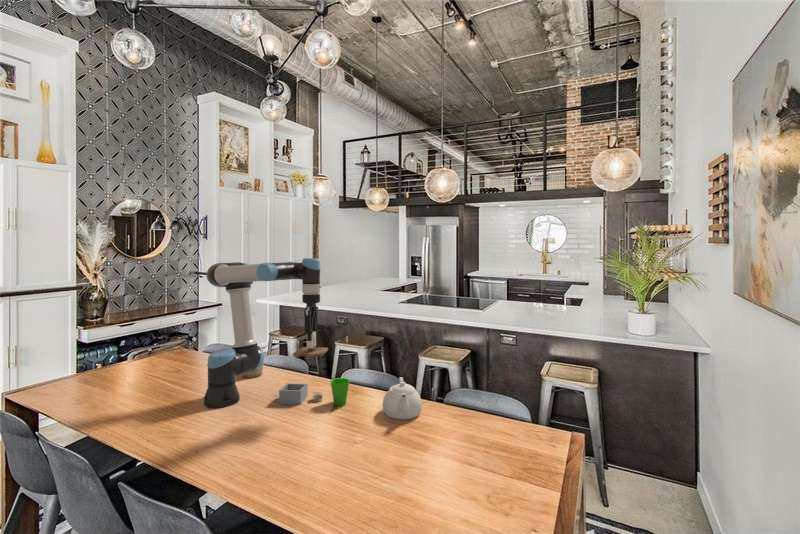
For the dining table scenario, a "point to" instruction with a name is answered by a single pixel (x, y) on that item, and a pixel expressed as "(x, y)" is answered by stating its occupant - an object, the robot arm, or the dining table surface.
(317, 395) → the maple block
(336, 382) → the cup
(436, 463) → the dining table surface
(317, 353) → the lid
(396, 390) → the teapot
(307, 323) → the robot arm
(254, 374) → the planter
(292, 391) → the grey open box
